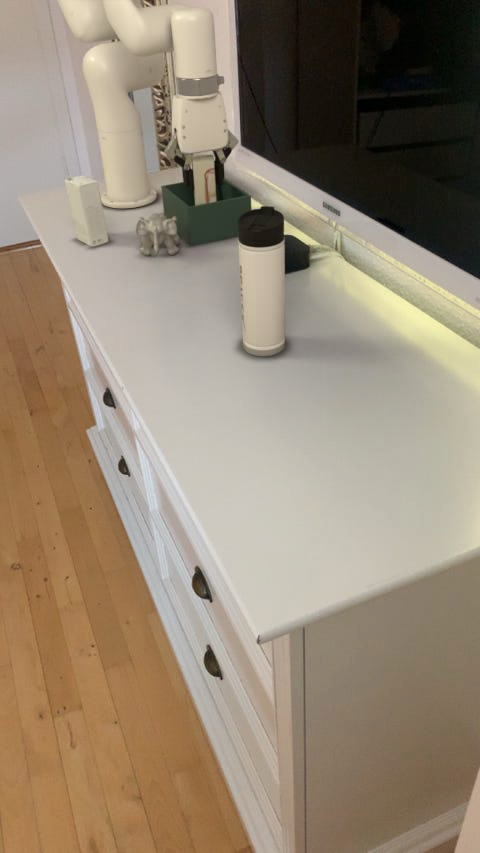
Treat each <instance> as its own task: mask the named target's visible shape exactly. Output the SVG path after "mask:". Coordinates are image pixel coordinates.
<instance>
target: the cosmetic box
mask: <svg viewBox="0 0 480 853" xmlns="http://www.w3.org/2000/svg"><path fill="white" fill-rule="evenodd" d="M64 186H65V189H66V193H67V198H68V203H69V208H70V211H71V216H72V220H73V225H74V229H75V233H76V238H77V240H78V241H80V242H81V243H83V244H86V245H87V246H89V247H92V248H93V247H98V246H101V245H104V244H106V243H109V241H110V240H109V234H108V229H107V224H106V219H105V214H104V208H103V203H102V201H101V194H100V189H99V182H98V181H97V180H95V179H92V178H90V177H88V176H84V175H77V176H75V177H70V178H67V179H64Z"/></svg>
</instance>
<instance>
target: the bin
mask: <svg viewBox="0 0 480 853" xmlns="http://www.w3.org/2000/svg"><path fill="white" fill-rule="evenodd" d="M215 183H216V182H215ZM160 188H161V198H162V206H163V214H164V216H167V219H172V218H173V217H174V216H176V217H177V219H178V222H177V223H175V224H176V226H177V233H178V235H179V237H180V238H182V239H183V240H184V241H185V242H186V243H187V244H188V245H189V246H190V247H194V246H198V245H202V244H207V243H212V242H216V241H222V240H225V239H226V240H227V239H231V238H236V237H238V236H239V233H238V219H239V217H240V216H241V215H242V214H243V213H245V212H247V211H250V210H252V196H251V194H249V193H247V192H246V191H244V190H243V189H241V188H240V187H239V186H237V185H235V184H234V183H233V182H231V181H230V180H228V179H227V178H226V177H225V178H224V179H223V185H219V184H218V183H216V199H217V201H216V202H211V203H206V204H201V205H196V206H195V197H194V190H192V191H191V190H189V189H188V188H187V187H186V186H185V185H184V183H183V181H180V182H175V183H170V184H164V185H161V186H160Z"/></svg>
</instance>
